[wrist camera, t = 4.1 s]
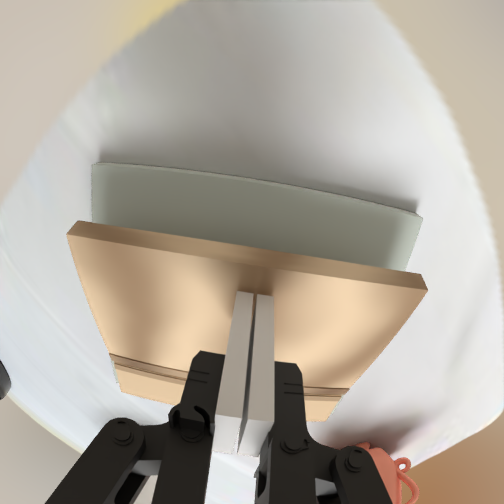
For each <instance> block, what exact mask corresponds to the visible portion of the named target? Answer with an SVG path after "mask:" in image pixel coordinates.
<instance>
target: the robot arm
mask: <svg viewBox="0 0 504 504" xmlns="http://www.w3.org/2000/svg"><path fill="white" fill-rule="evenodd" d="M253 295H254V293H248V292H241V291H237V293H236V299H235V304H234V310H233V316H232V321H231V327H230V333H229V338H228V344H227V350H226V355H224V354H218V353H212V352H207V351H201V350H200V351H199V352H198V353H197V354H196V355H195V357H194V358H193V359H192V362H191V365H190V369H189V372H188V376H187V380H186V383H185V386H184V390H183V393H182V397H181V401H180V403H178V404H177V405H176V406H174V407H173V408H172V409H171V410H170V412H169V414H168V418H169V421H168V422H167V423H164V424H161V425H147V426H140V425H139V424H137V423H136V422H135V421H133V420H131V419H128V418H115V419H112V420H110V421H109V422H108V423H107V424H105V425H104V427H103V428H102V429H101V431H100V432H99V433H98V435H97V436H96V437H95V438H94V440H93V441H92V442H91V444H90V445H89V446H88V447H87V449H86V450H85V451H84V453H83V454H82V455H81V457H80V458H79V459H78V461H77V462H76V463H75V464H74V466H73V467H72V468H71V470H70V471H69V472H68V474H67V475H66V476H65V478H64V479H63V480H62V482H61V483H60V484H59V485H58V487H57V488H56V489H55V491H54V492H53V493H52V495H51V496H50V497H49V499H48V500H47V501H46V503H45V504H134V502H135V501H136V499H137V497H138V496H139V494H140V492H141V491H142V489H143V487H144V486H145V484H146V482H147V481H148V479H149V477H150V476H153V475H158V477H157V481H156V485H155V490H154V494H153V498H152V503H151V504H204V503H205V496H206V489H207V482H208V475H209V468H210V460H211V454H212V451H214V452H220V453H227V454H232V453H233V450H234V446H235V442H236V439H237V435H238V431H239V440H238V450H237V455H243V456H253V457H258V456H259V454H260V464H259V466H258V468H257V470H256V472H255V474H254V477H253V478H256V490H255V503H254V504H393V503H392V500H391V498H390V496H389V494H388V491H387V489H386V487H385V485H384V482H383V480H382V478H381V476H380V473H379V471H378V469H377V467H376V465H375V462H374V460H373V458H372V456H371V455H370V454H369V452H368V451H367V450H365V449H364V448H362V447H358V446H348V447H346V448H343V449H342V450H337V449H334V448H330V447H327V446H324V445H321V444H319V443H317V442H316V441H315V440H313V438H312V437H311V436H310V435H309V433H308V430H307V425H306V412H305V400H304V388H303V377H302V372H301V371H300V369H299V367H298V366H297V364H296V363H288V362H279V361H274V296H267V295H260V294H257V298H256V303H255V308H254V313H253V318H252V323H251V317H252V306H253ZM10 388H11V382H10V379H9V377H8V375H7V373H6V371H5V369H4V367H3V366H2V364H1V362H0V400H1V399H3V398H4V397H5V396H6V394H7V393H8V391H9V390H10ZM239 428H240V430H239Z"/></svg>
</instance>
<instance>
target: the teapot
mask: <svg viewBox="0 0 504 504" xmlns="http://www.w3.org/2000/svg"><path fill="white" fill-rule="evenodd" d="M354 446H358V447H362V448H364V449H365V450H367V451H368V452H369V454H370V455H371V456H372V458H373V460H374V462H375V465H376V467H377V469H378V471H379V473H380V476H381V478H382V480H383V482H384V485H385V487H386V489H387V491H388V494H389V496H390V498H391V500H392V503H393V504H401V496H402V490H401V480H402V481H403V482H404V483H406V484H407V485H408V486H409V488H410V489H411V491H412V498H411V499H410V500H409V501H408V502H407V503H406V504H414V503H415V502H416V501H417V499H418V497H419V488H418V486H417V484H416V483H415V482H414V481H413V480H412V479H411V478H409V477H408V476H407V475H406V474H405V472H407V471H408V470H409V469H410V467H411V462H410V460H409V459H408V458H399V459H397V460H395V461H393V460H392V458H391V457H390V456H389V455H388V454H387V453H386V452H385V451H384V450H383V449H382V448H373V449H369V447H370V443H368V442H364V443H359V444H357V445H354ZM400 464H405V465H406V467H405V468H404V469H402V470H400V469H399V465H400ZM400 479H401V480H400Z"/></svg>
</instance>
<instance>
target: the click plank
mask: <svg viewBox="0 0 504 504" xmlns="http://www.w3.org/2000/svg"><path fill="white" fill-rule="evenodd" d="M66 235H67V239H68V243H69V246H70V250H71V253H72V256H73V260H74V263H75V266H76V269H77V272H78V275H79V278H80V281H81V284H82V287H83V290H84V293H85V296H86V298H87V301H88V304H89V306H90V309H91V311H92V314H93V317H94V319H95V321H96V324H97V326H98V329H99V331H100V333H101V336H102V338H103V340H104V343H105V345H106V347H107V349H108V351H109V356H110V358H111V360H112V361H115V362H119V363H122V364H126V365H130V366H134V367H137V368H141V369H145V370H150V371H154V372H158V373H163V374H167V375H172V376H177V377H182V378H187V376H188V372H189V369H190V365H191V362H192V359H193V358H194V357H195V355H196V354H197V353H198V352H199V351H200V350H201V351H207V352H212V353H218V354H224V355H226V350H227V344H228V338H229V333H230V327H231V321H232V316H233V310H234V304H235V299H236V293H237V291H241V292H248V293H254V295H253V306H252V317H251V323H252V318H253V313H254V308H255V303H256V298H257V294H260V295H267V296H274V361H279V362H288V363H296V364H297V366H298V367H299V369H300V371H301V372H302V377H303V388H304V393H309V394H335V395H345V394H346V393H347V391H348V390H349V388H350V387H351V386H352V385H353V384H354V383H355V382H356V381H357V380H358V379H359V377H360V376H361V375H362V374H363V373H364V372H365V371H366V370H367V369H368V367H369V366H370V365H371V364H372V363H373V362H374V361H375V359H376V358H377V357H378V356H379V355H380V354H381V352H382V351H383V350H384V349H385V348H386V346H387V345H388V344H389V343H390V341H391V340H392V339H393V338H394V336H395V335H396V334H397V333H398V331H399V330H400V329H401V327H402V326H403V325H404V323H405V322H406V321H407V320H408V318H409V317H410V315H411V314H412V313H413V311H414V310H415V309H416V307H417V306H418V304H419V303H420V302H421V300H422V299H423V297H424V296H425V294H426V293H427V291H428V289H427V286H426V284H425V282H424V280H423V278H422V276H421V274H417V273H411V272H404V271H398V270H392V269H386V268H380V267H374V266H368V265H361V264H355V263H349V262H343V261H337V260H330V259H324V258H318V257H312V256H305V255H299V254H293V253H286V252H280V251H274V250H267V249H261V248H255V247H248V246H242V245H236V244H229V243H223V242H216V241H210V240H203V239H197V238H190V237H184V236H177V235H171V234H164V233H158V232H151V231H145V230H138V229H132V228H125V227H118V226H112V225H105V224H98V223H92V222H85V221H77V222H76V223H75V224H74V226H73V227H72V228H71V229H70V230H69V231H68V233H67V234H66Z"/></svg>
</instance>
